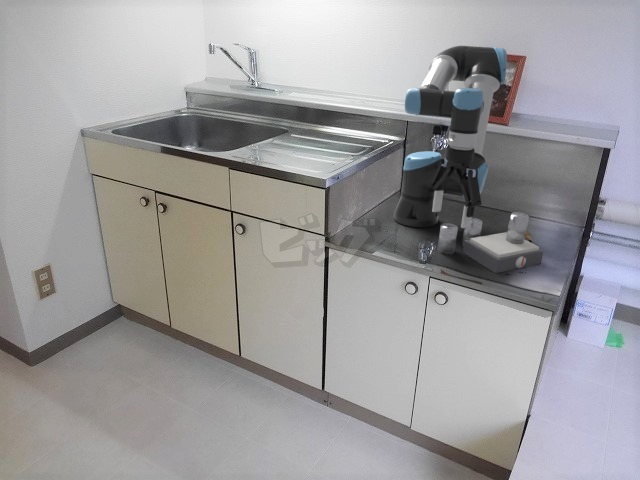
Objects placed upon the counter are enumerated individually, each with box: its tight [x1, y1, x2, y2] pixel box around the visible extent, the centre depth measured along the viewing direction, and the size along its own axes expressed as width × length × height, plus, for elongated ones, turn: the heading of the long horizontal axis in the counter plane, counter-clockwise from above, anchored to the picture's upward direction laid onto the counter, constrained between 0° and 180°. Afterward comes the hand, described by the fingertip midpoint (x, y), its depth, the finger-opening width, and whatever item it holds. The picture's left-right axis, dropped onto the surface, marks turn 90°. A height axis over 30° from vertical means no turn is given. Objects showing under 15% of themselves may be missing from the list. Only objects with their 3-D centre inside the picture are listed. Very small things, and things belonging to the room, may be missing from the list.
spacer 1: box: [437, 222, 459, 255], centre depth 153 cm, size 5×5×8 cm
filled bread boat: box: [507, 224, 534, 244], centre depth 164 cm, size 5×14×4 cm, turn 2°
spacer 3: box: [506, 211, 530, 244], centre depth 149 cm, size 5×5×8 cm
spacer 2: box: [461, 217, 483, 247], centre depth 158 cm, size 5×5×8 cm
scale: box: [462, 231, 545, 274], centre depth 150 cm, size 15×17×5 cm
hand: (450, 218), depth 150 cm, fingers open, 13 cm apart
